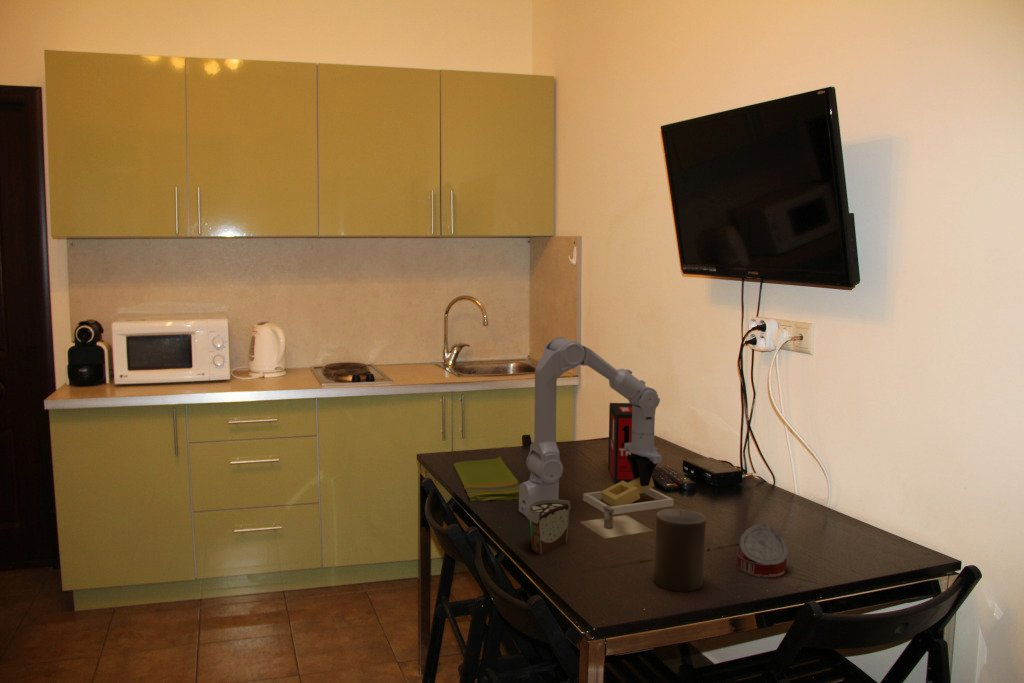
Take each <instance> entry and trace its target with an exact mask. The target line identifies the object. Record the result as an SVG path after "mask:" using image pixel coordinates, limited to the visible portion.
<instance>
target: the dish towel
mask: <svg viewBox="0 0 1024 683" xmlns="http://www.w3.org/2000/svg"><path fill="white" fill-rule="evenodd" d="M453 467H454V469H455V471H456V473H457V475H458V477H459V479H460V482H461V481H462V482H461V484H462V483H463V484H462V486H463V485H464V486H463V488H464V491H465V490H466V491H465V493H466V492H467V493H466V494H467V497H468V498H470V499H469V501H470V502H471V501H474V500H482V501H486V500H507V501H512V500H511V499H519V487H520V484H521V483H520V482H519V481H518V479H517V477H515V475H514V474H513V473H512V471H511V470H510V469H509V468H508V466H507V465H506V464H505V462H504V461H503V459H502V456H501V455H500V456H498V457H497V458H490V459H484V460H483V459H481V460H480V459H479V460H476V459H475V460H466V461H465V460H464V461H459V462H455V463H453ZM486 502H487V501H486Z"/></svg>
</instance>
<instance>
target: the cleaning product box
mask: <svg viewBox="0 0 1024 683" xmlns="http://www.w3.org/2000/svg"><path fill="white" fill-rule="evenodd" d="M632 405H633V404H630V402H609V409H608V410H609V411H608V412H609V413H608V415H609V417H608V418H609V420H608V458H607V465H608V466H607V470H608V472H609V474H610V476H611V478H612V481H613V485H615V484H617V483H619V482H621V481H625V482H627V483H628V482H630V481H632V480H634V478H633V473H632V469H631V466H630V464H629V462H628V460H627V455H631V454H632V453H631V452H630V451H625V450H624V443H632Z"/></svg>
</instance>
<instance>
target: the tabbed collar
mask: <svg viewBox="0 0 1024 683" xmlns="http://www.w3.org/2000/svg"><path fill="white" fill-rule="evenodd" d="M654 487H655V482H654V478H653V475H652V476H651V480H650V483H649V486H641V484H640V477H638V478H637V479H634V480H632V481H630V482H628V483H627V482H625V481H621V482H619V483H617V484H613V485H611V486H609V487H608V488H605V489H602V490H600V491H601V495H602V499H601V500H602V502H603V503H605V504H606V505H608V506H610V507H612V506H619V505H626V504H633V503H634V502H636V501H638V500H640V499H641V494H640V493H642V492H644V491H646V490H648V489H650V488H652V489H653V488H654ZM642 494H643V493H642Z"/></svg>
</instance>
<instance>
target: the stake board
mask: <svg viewBox="0 0 1024 683" xmlns="http://www.w3.org/2000/svg"><path fill="white" fill-rule="evenodd" d="M609 506H610V505H608V506H604V512H603V513H604V514H603V517H604V518H597V519H589V520H582V521H579V523H580V524H581V525H583V526H585V527H586V528H587V529H589V530H591V531H592V532H593V533H595V534H596V535H599V536H600V537H601V538H603V539H605V540H606V539H611V538H617V537H623V536H630V535H636V534H642V533H649V532H654V530H652V529H651V528H649V527H647V526H646V525H645V524H642V523H640V522H639V521H638V520H635V519H634V518H632V517H630V516H629V515H626V514H624V515H623V514H621V515H618V516H614V515H613V513H614V509H612V508H610V507H611V506H610V507H609Z"/></svg>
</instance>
